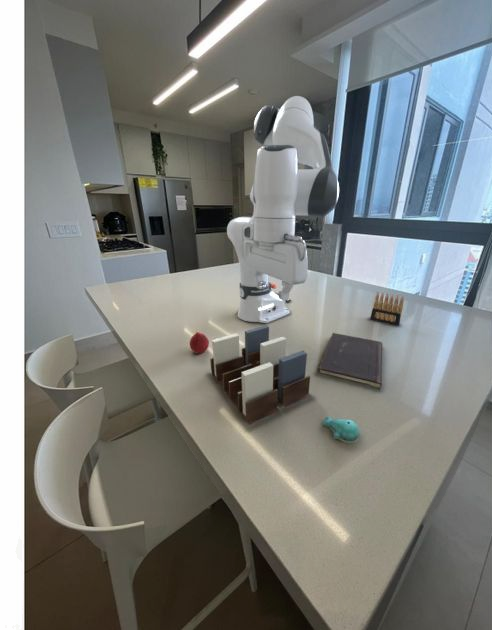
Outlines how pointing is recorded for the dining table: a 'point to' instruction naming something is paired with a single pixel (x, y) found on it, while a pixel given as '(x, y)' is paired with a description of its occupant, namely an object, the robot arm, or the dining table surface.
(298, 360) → the grey book
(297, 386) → the book rack
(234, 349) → the cream book
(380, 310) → the ammunition clip
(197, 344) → the onion
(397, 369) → the dining table surface
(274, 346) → the cream book
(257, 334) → the grey book
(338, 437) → the whale figurine
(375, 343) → the hardcover book
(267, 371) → the cream book
